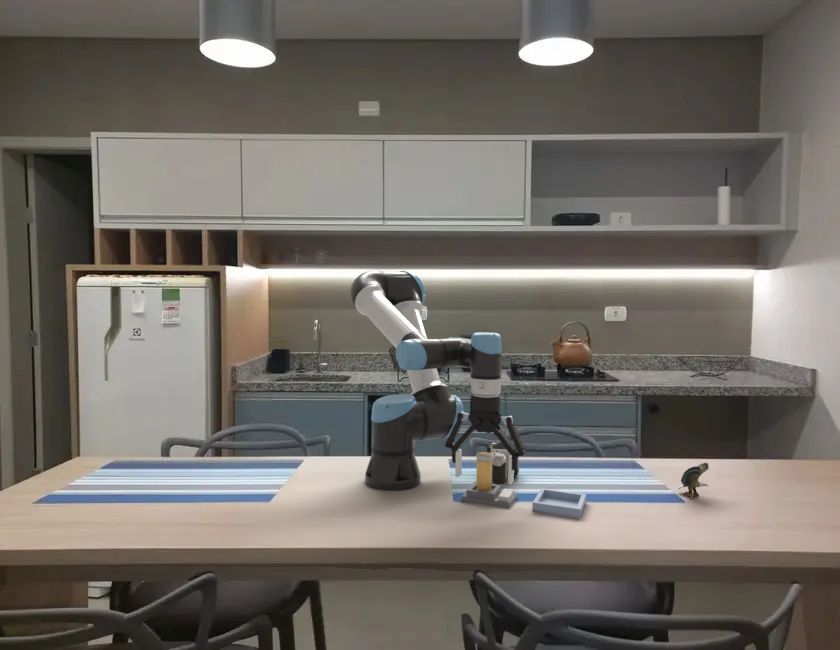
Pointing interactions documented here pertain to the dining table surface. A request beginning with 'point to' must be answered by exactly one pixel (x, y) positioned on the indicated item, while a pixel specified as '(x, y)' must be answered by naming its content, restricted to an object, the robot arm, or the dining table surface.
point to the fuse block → (490, 496)
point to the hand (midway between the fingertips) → (484, 479)
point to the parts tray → (559, 503)
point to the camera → (500, 463)
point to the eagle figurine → (693, 479)
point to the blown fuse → (484, 471)
